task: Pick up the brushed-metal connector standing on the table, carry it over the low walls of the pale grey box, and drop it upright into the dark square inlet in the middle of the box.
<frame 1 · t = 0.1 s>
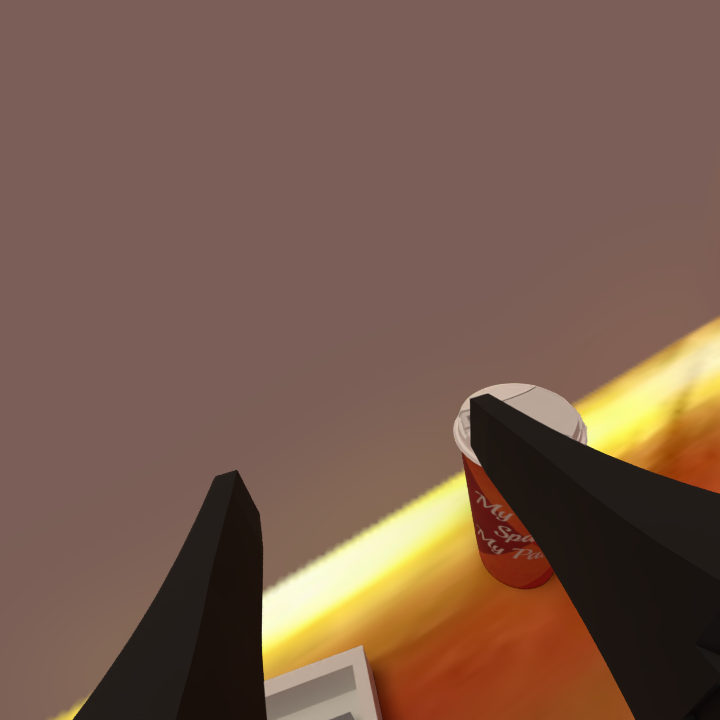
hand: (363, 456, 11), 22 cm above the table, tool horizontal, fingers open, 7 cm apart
paper cup: (516, 554, 30), on the table
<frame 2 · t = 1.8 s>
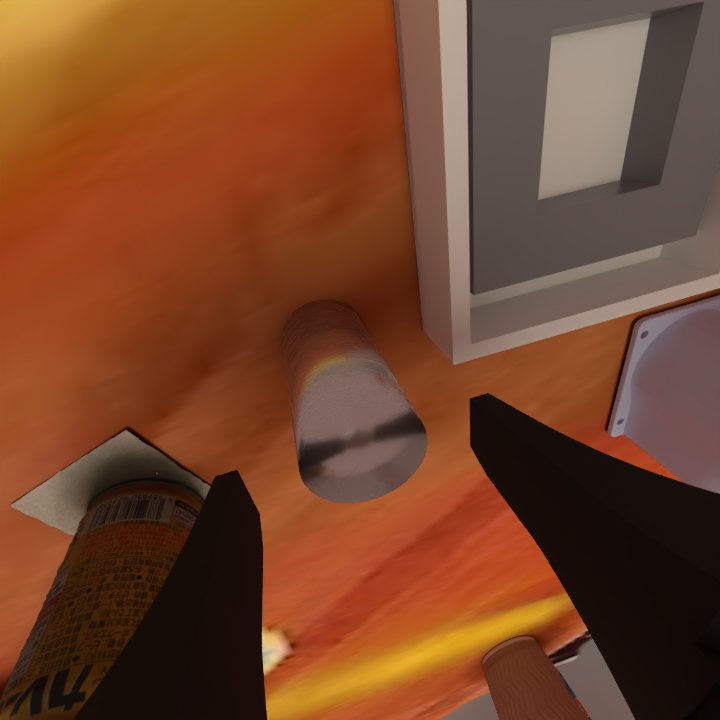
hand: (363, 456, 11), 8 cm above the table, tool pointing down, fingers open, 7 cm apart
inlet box: (565, 120, 16), on the table
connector: (323, 339, 18), on the table
coffee cup: (507, 649, 45), on the table
condiment: (140, 502, 21), on the table
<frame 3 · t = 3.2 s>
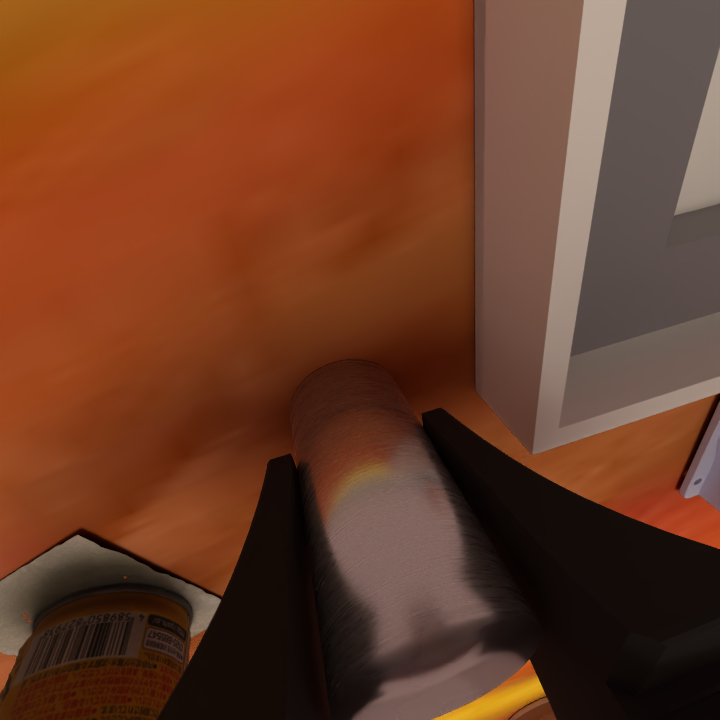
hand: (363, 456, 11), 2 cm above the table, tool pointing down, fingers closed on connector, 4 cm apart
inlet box: (693, 111, 11), on the table
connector: (346, 408, 13), on the table, touching gripper
coffee cup: (535, 707, 40), on the table
condiment: (105, 609, 16), on the table
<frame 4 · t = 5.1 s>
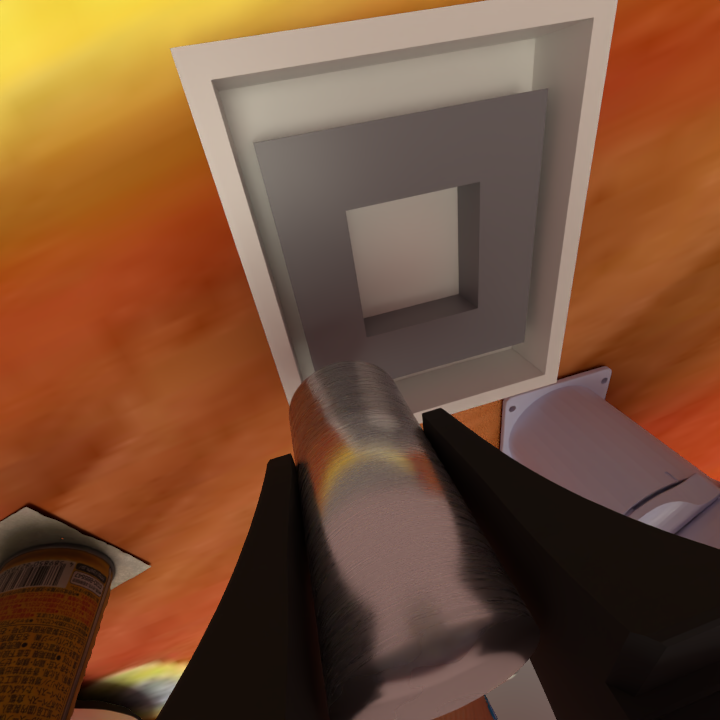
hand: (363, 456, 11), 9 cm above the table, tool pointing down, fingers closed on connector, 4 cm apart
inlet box: (400, 250, 18), on the table
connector: (345, 409, 13), point 7 cm above the table, touching gripper
coffee cup: (440, 671, 47), on the table
condiment: (50, 562, 23), on the table
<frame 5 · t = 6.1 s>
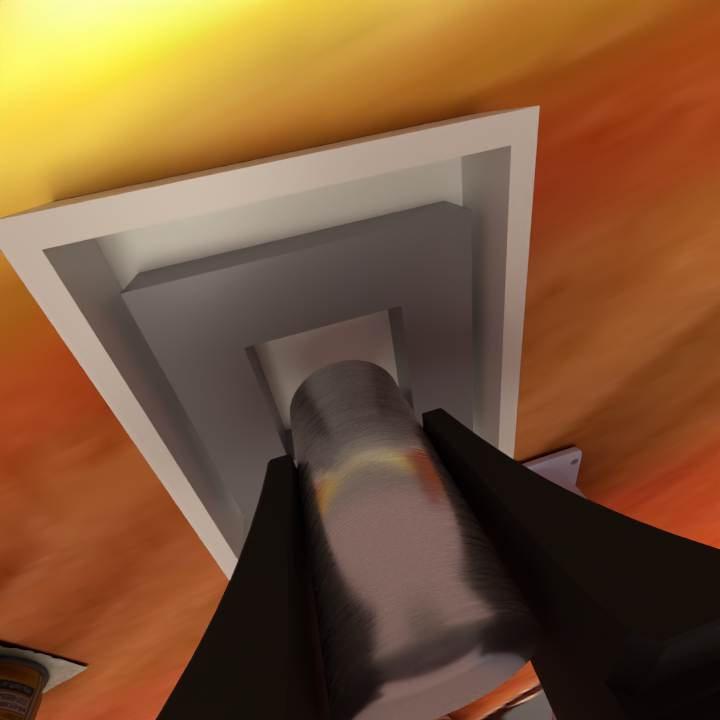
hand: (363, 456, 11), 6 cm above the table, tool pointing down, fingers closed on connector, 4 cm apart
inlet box: (329, 358, 16), on the table
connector: (346, 408, 13), point 4 cm above the table, touching gripper
when the fingers open (4 cm above the table, at t = 6.8 s): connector drops 1 cm, resting on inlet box.
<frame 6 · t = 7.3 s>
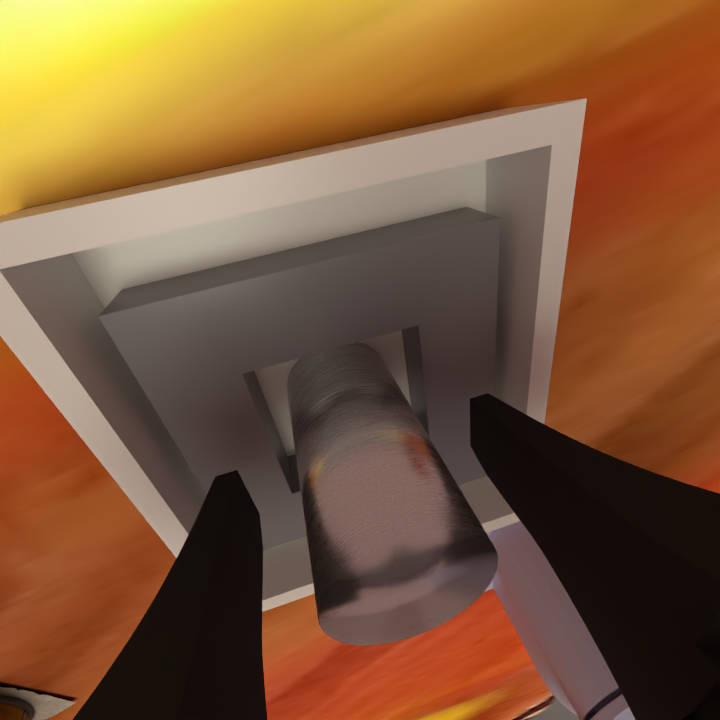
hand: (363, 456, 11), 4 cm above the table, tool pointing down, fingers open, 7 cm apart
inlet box: (336, 378, 15), on the table
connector: (338, 385, 15), resting on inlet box
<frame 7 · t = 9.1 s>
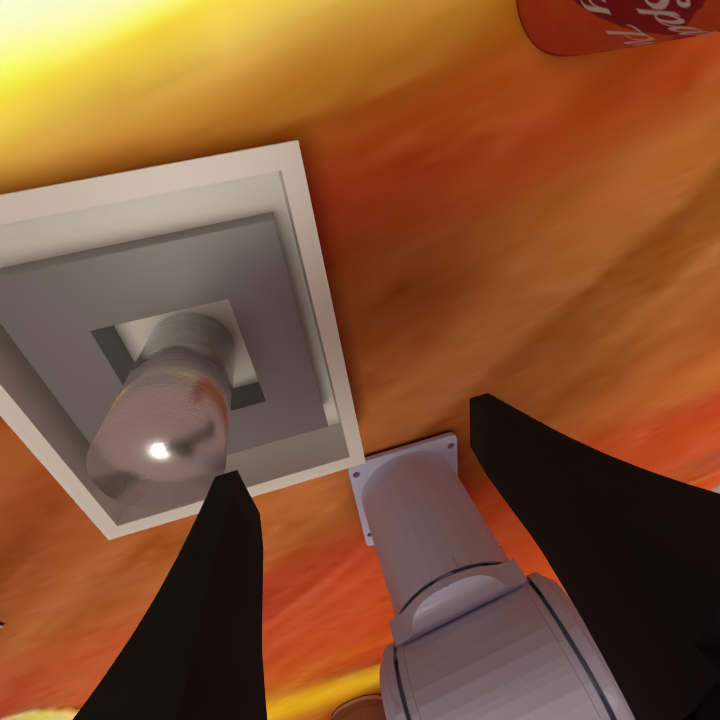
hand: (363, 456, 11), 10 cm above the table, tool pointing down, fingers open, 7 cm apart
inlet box: (194, 344, 19), on the table
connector: (193, 349, 19), resting on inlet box
coffee cup: (357, 706, 48), on the table
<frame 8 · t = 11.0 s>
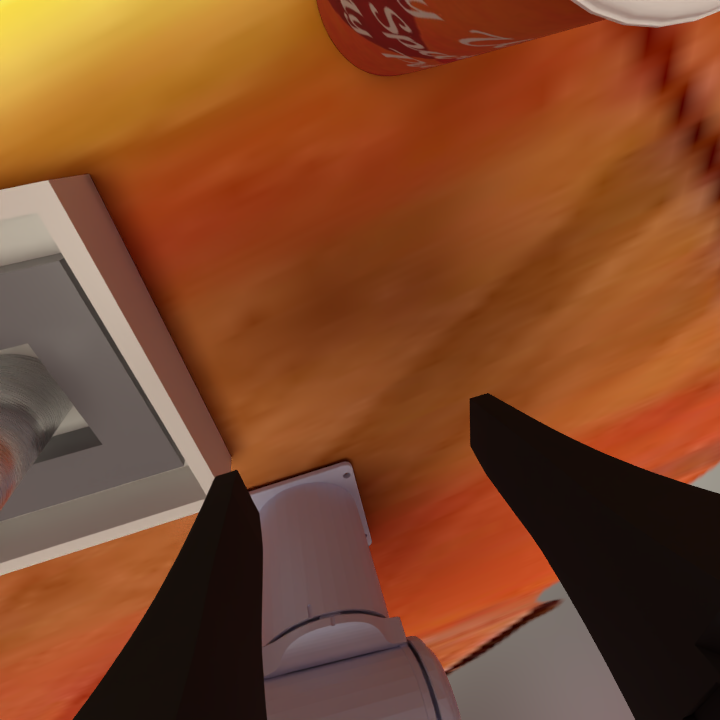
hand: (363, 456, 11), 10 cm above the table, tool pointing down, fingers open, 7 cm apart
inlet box: (29, 385, 18), on the table
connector: (24, 391, 18), resting on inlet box
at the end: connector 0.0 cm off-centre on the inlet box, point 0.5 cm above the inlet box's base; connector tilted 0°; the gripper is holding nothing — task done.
